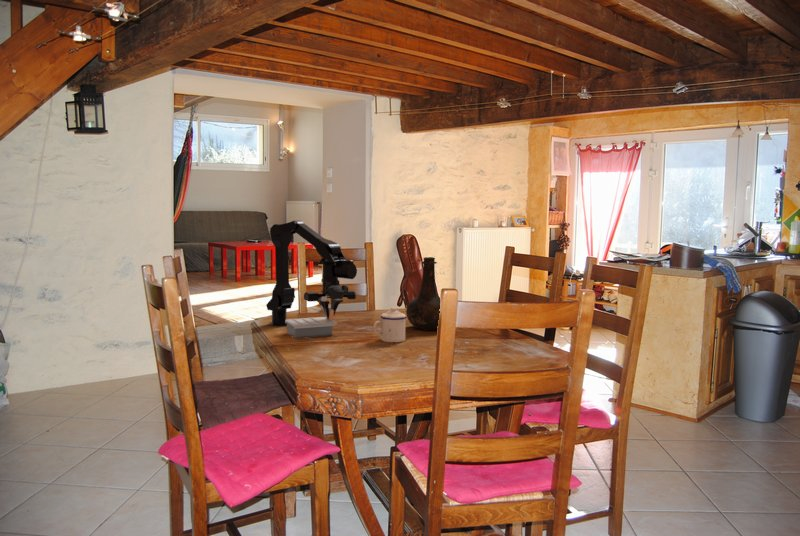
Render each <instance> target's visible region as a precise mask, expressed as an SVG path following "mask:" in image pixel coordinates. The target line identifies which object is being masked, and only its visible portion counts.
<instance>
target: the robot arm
mask: <svg viewBox="0 0 800 536" xmlns="http://www.w3.org/2000/svg"><path fill="white" fill-rule="evenodd" d="M269 234H270V239H271V240H270V241H271V242H272V244H273V246H274V250H275V252H274V253H275V285H274V287H273V290H272V294H271V299H270V300H269V301H268V302H267V303H266V304H265V306H266V310H267V311H271V321H270V322H268V323H269V325H270V326H272V327H281V326H283V327H284V326H287V323H285V320H288V319H287V312H288V311H287V310H288V309H291V308H292V305H293V303H294V301H295V299H296V296H295V295H296V294H295V291H296V289H295V287H292V285H291V284H290V275H289V274H290V271H289V267H290V266H289V265H290V264H289V246H290V244H291V242H292V240H293V235H295V234H297V235H299V236H300V237H301V238H302V239H304V240H305V241H306V242H307V243H309V244H310V245H311V246H313V247H314V248H315V250H316V253H317V254H318V255H319V256H320V258H321V259H320V260H319V261H318V262H317V265H321V266H322V278H321V283H322V289H321V291H320V292H321V293H319V292H316V291H306V292H304V294H303V300H305V301H307V302H311V303H312V302H318V303H320V306H321V307H322V310H323V312H324V315H325V317H326V318H327V319H329V308H331V309H333V310H334V316H335V315H336V311H337V309H338V307H339V305H340V304H341V303H344V300H343V299H344V298H346V299H348V300H356V299H357V294H356V292H355V291H354V290H351V289H349V285H347V284H344V285H340V279H346V280H354V279H355V277H357V273H358V269H357V266H356V264H355V263H354V260H352V259H350V260H347V258H346V256H345V255H344V253H343V251H342V248H341V245H340V244H339V243H337V242H336V241H332V240H331V239H327V238H325V237H323V236H321V234H319V233H318V232H316V231H315V230H314V229H312V228H311V227H310V226H309V225H307V224H305V222H304V221H302V220H292V221H289V222H286V223H274V224H273V225H272V226H271V227H270V229H269ZM328 299H330V301H329V300H328ZM329 304H330V307H329Z"/></svg>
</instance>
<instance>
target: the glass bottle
mask: <svg viewBox="0 0 800 536" xmlns="http://www.w3.org/2000/svg"><path fill="white" fill-rule="evenodd" d="M435 260H436V258H435V257H432V256H431V257H429V256H428V257H427V256H426V257H423V261H422V262H421V264H422V266H423V269H422V279H421V285H420V291H419V294H418V296H417V297H415V298H413V299H412V300H411V301H409V302H408V304H407V306H406V311H405V312H406V313H405V315H406V318H407V321H409V324H411V325H412V326H413V327H415V328H416V329H418V328H419V329H418V330H422V329H426V330H425V331H436V330H437V326H438V320H439V313H440V311H439V309H440V298H441V297H440V296H439V295H438V291H437V286H436V284H437V283H436V274H435V273H436V269H435V265H436V264H438V262H436V261H435ZM435 329H436V330H435Z"/></svg>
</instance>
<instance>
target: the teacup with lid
mask: <svg viewBox="0 0 800 536" xmlns="http://www.w3.org/2000/svg"><path fill="white" fill-rule="evenodd" d="M380 318H381V320H377V321H375V322H374V323H373V331H374V333H375V334H377V335H380V340H381V341H382V342H385V343H393V342H395V343H402V342H404V341H406V318H407V315H406V313H402V312H400V311H399V310H397V308H396V307H391V308H390V310H388V311H386V312H383V313H381V315H380ZM378 324H380V327H381V328H380V332H379V331H378V330H377V325H378Z"/></svg>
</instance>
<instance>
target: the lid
mask: <svg viewBox="0 0 800 536" xmlns="http://www.w3.org/2000/svg"><path fill="white" fill-rule="evenodd" d="M334 317H335V315H334V310H333V309H331V307H329V319H327V318H326V316H320V317H312V316H311V317H307V318H303V317H301V318H292V319H291V318H290V319H289V318H288V319H287V320H285V323H289V324H290V325H292V326H294V328H295V329H297V328H310V327H324V326H332V327H334V326H335V325H338V321H335V320H334V319H335V318H334Z"/></svg>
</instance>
